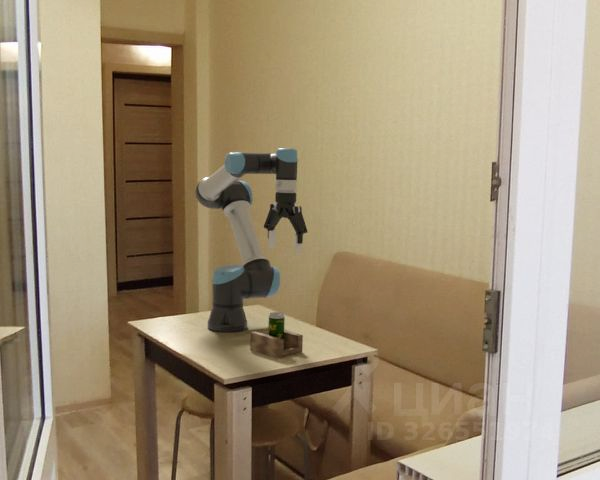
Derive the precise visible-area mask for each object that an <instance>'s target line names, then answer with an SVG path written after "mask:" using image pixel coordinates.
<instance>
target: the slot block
mask: <svg viewBox="0 0 600 480" xmlns="http://www.w3.org/2000/svg"><path fill="white" fill-rule="evenodd" d="M249 335H250V338H249V340H250V342H249V343H250V344H249V345H250V349H249V350H251V351H253V352H257V353H260V354H263V355H267V356H270V357H272V358H276V359H278V360H279V359H283V358H286V357H289V356H290V357H291V356H294V355H298V354H300V353H303V342H304V341H303V337H304V335H303V334H302V333H301V334H300V333H297V332H294V331H290V330H286V329H284V340H283V339H280V338H276V337H273V336H269V335H268V334H265V333H262V332H258V331H250V334H249Z"/></svg>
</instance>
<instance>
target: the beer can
mask: <svg viewBox="0 0 600 480" xmlns="http://www.w3.org/2000/svg"><path fill="white" fill-rule="evenodd" d="M285 318H286V317H285V313H283V312H277V311H276V312H275V311H273V312H270V313H269V315H268V334H267V335H269V336H273V337H276V338H280V339H283V340H284V330H285V323H286V321H285Z"/></svg>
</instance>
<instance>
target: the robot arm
mask: <svg viewBox="0 0 600 480" xmlns="http://www.w3.org/2000/svg"><path fill="white" fill-rule="evenodd" d="M275 152H276V153H274V152H267V153H266V152H240V151H234V152H229V153H227V154H226V155H225V158H224V164H223V165H222V166H221V167H219V168H217V170H216V171H215V172H213V173H212V174H210V176H208V177H204V178H202V179H201V180H200V181H199V182H198V183H197V185H196V186H195V190H194V194H195V198H196V200H197V201H198V203H199V204H200V205H202V206H203V207H205V208H208V209H213V210H214V209H217V210H220V209H221V210H222V213H223V215H224V216H225V217H226V218H228V219H229V220H228V221H229V223H230V226H231V230H232V232H233V236H234V239H235V242H236V246H237V249H238V251H239V254H240V255H239V256H240V258H241V261H242V264H241V265H239V264H228V265H223V266H220V267H217V268H216V269H214V270H213V273H212V280H211V283H212V300H211V301H212V307H211V310H210V314H209V317H208V320H207V329H209V330H210V331H214V332H221V333H222V332H223V333H233V332H234V333H235V332H241V331H244V330H246V329H247V328H248V319H247V317H246V316H247V315H246V312H245V309H244V300H249V299H258V298H264V299H265V298H267V297H269V298H270V297H274V296H276V294H277V293H278V291H279V289H280V285H281V274H280V273H281V272H280V270H279V268H278V267H276V266H274V265H273V266H271V262H270V260H269V259H268V258H266V257H264V254H263V251H262V247H261V244H260V241H259V239H258V236H257V235H258V234H257V233H256V229H255V226H254V224H253V221H252V217H251V215H250V212H249V211H250V210H251V206H252V204H253V199H254V198H253V191H252V189H251V186H250V184H249V183H248V182H247V181H244V180H239V179H241V178H242V177H244V176H245V175H247V174H248V175H249V174H251V175H267V174H268V175H275V191H276V192H275V196H274V197H275V201H274V202H275V203H270V204H269V211H268V212H267V213H268V214H267V216H266V218H265V221H264V224H263V228H264V229H266V231H267V239H268V241H267V243H268V249H275V248H276V226H277V225H278V224H279V222H280V221H281V220H282V218H284V219H287V220H289V222H290V224H291V226H292V227H293V229H294V231H295V234H294V254H298V253H299V254H301V253H302V244H303V240H304V237H303V236H304V234H307V233H308V228H307V225H306V221H305V218H304V215H303V213H302V212H303V211H302V209H303V207H302V206H301V205H299V206H295V204H296V203H297V193H296V192H297V189H298V188H297V183H298V179H297V178H298V161H299V159H298V150H297V149H296V148H289V147H288V148H284V147H283V148H281V147H280V148H277V149H276V151H275Z"/></svg>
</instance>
